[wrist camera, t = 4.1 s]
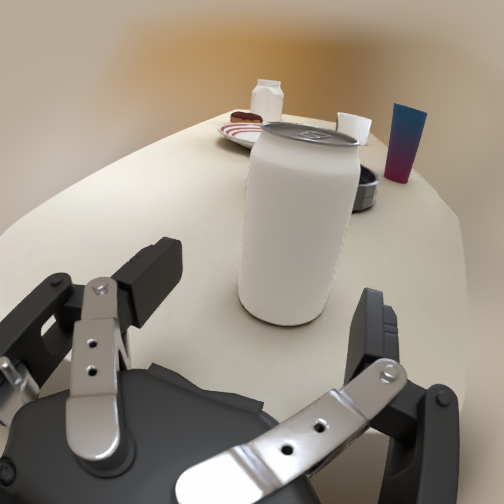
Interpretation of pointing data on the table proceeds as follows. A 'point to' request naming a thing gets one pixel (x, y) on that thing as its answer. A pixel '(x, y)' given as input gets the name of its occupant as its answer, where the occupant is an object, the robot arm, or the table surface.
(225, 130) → the dinner plate
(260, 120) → the donut
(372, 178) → the pan
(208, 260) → the table surface
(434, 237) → the table surface
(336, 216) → the can
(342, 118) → the mug
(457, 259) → the table surface
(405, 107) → the cup
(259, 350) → the table surface
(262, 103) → the jar
